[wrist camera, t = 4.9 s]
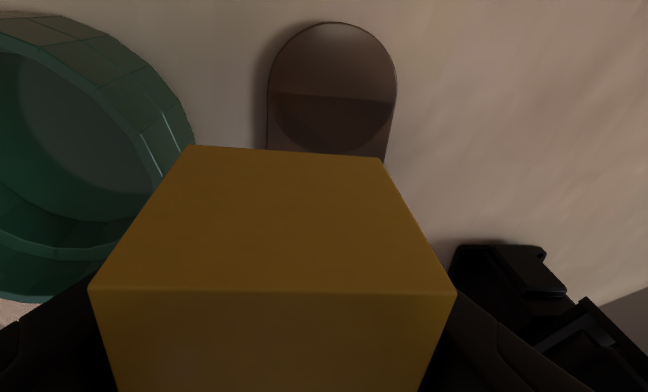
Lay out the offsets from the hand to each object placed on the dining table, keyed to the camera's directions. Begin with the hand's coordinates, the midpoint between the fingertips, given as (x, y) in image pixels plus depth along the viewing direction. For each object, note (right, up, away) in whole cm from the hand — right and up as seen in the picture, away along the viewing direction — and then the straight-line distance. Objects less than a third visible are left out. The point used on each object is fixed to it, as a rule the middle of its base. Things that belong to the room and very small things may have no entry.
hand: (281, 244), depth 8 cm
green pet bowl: (-12, +4, +10) cm, 16 cm away
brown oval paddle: (+1, 0, +13) cm, 13 cm away
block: (0, 0, +1) cm, 1 cm away
